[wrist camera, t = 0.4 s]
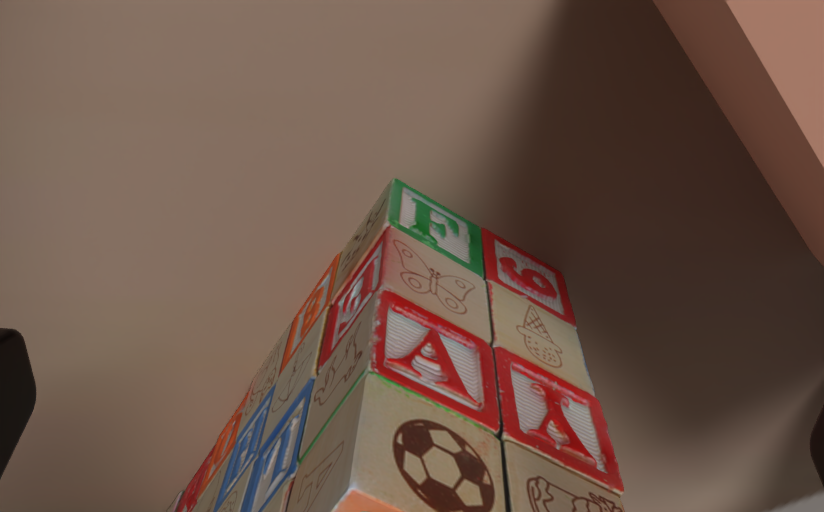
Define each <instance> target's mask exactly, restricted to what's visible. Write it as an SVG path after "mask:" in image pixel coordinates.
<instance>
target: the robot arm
mask: <svg viewBox="0 0 824 512" xmlns="http://www.w3.org/2000/svg"><path fill="white" fill-rule="evenodd" d="M35 401H36V384H35V380H34V376H33V372H32V368H31V364H30V360H29V357H28V353H27V349H26V345H25V341H24V339H23V336H22V335H21V333H19V332H18V331H17V330H15V329H7V328H0V479H1V477H2V475H3V472H4V470H5V468H6V466H7V464H8V462H9V460H10V458H11V456H12V454H13V452H14V450H15V447H16V445H17V443H18V441H19V439H20V437H21V435H22V433H23V431H24V429H25V427H26V424H27V422H28V420H29V418H30V416H31V414H32V412H33V409H34V405H35ZM810 451H811V456H812V459H813V462H814V465H815V467H816V469H817V472H818V474H819V477H820V479H821V482H822V484H823V487H824V405H823V407H822V410H821V412H820V414H819V416H818V419H817V421H816V423H815V425H814V427H813V430H812V433H811V437H810Z"/></svg>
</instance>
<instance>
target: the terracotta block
mask: <svg viewBox="0 0 824 512" xmlns="http://www.w3.org/2000/svg"><path fill="white" fill-rule="evenodd" d="M653 2H654V4H655V5H656V7H657V8H658V10H659V11H660V13H661V15H662V16H663V18H664V19H665V21H666V23H667V24H668V26H669V27H670V29H671V31H672V32H673V34H674V35H675V37H676V38H677V40H678V42H679V43H680V45H681V46H682V48H683V50H684V51H685V53H686V54H687V56H688V57H689V59H690V61H691V62H692V64H693V65H694V67H695V69H696V70H697V72H698V73H699V75H700V76H701V78H702V80H703V81H704V83H705V84H706V86H707V88H708V89H709V91H710V92H711V94H712V96H713V97H714V99H715V100H716V102H717V103H718V105H719V107H720V108H721V110H722V111H723V113H724V115H725V116H726V118H727V119H728V121H729V122H730V124H731V126H732V127H733V129H734V130H735V132H736V134H737V135H738V137H739V138H740V140H741V141H742V143H743V145H744V146H745V148H746V149H747V151H748V153H749V154H750V156H751V157H752V159H753V160H754V162H755V164H756V165H757V167H758V168H759V170H760V172H761V173H762V175H763V176H764V178H765V180H766V181H767V183H768V184H769V186H770V187H771V189H772V191H773V192H774V194H775V195H776V197H777V199H778V200H779V202H780V203H781V205H782V206H783V208H784V210H785V211H786V213H787V214H788V216H789V218H790V219H791V221H792V222H793V224H794V225H795V227H796V229H797V230H798V232H799V233H800V235H801V237H802V238H803V240H804V241H805V243H806V245H807V246H808V248H809V249H810V251H811V252H812V254H813V255H814V256H815V257H816V258H817V260H818V261H819V262H820V263H821V264H822V266H823V267H824V0H653Z"/></svg>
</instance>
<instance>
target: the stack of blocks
mask: <svg viewBox="0 0 824 512" xmlns="http://www.w3.org/2000/svg"><path fill="white" fill-rule="evenodd" d="M576 329H577V326H576V321H575V317H574V313H573V310H572V306H571V303H570V300H569V297H568V292H567V288H566V284H565V280H564V277H563V275H562V273H561V272H559V271H558V270H556V269H554V268H552V267H551V266H549V265H547V264H545V263H544V262H542V261H540V260H539V259H537V258H535V257H533V256H532V255H530V254H528V253H526V252H525V251H523V250H521V249H520V248H518V247H516V246H514V245H512V244H511V243H509V242H507V241H505V240H504V239H502V238H500V237H499V236H497V235H495V234H493V233H491V232H490V231H488V230H487V229H484V228H480V227H478V226H476V225H475V224H473V223H471V222H469V221H468V220H466V219H464V218H463V217H461V216H459V215H457V214H456V213H454V212H452V211H451V210H449V209H447V208H445V207H444V206H442V205H440V204H439V203H437V202H435V201H434V200H432V199H430V198H428V197H427V196H425V195H423V194H421V193H420V192H418V191H416V190H415V189H413V188H411V187H409V186H408V185H406V184H405V183H403V182H401V181H400V180H398V179H395V178H393V179H392V180H391V181H390V182H389V184H388V185H387V187H386V188H385V190H384V191H383V193H382V194H381V196H380V197H379V198H378V200H377V201H376V203H375V204H374V206H373V207H372V209H371V210H370V212H369V213H368V215H367V216H366V218H365V219H364V221H363V222H362V223H361V225H360V226H359V228H358V229H357V231H356V232H355V234H354V235H353V237H352V238H351V240H350V241H349V243H348V244H347V245H346V247H345V248H344V250H343V251H342V252H340V253H339V254H338V255H337V256H336V257H335V258H334V260H333V261H332V263H331V265H330V266H329V268H328V269H327V270H326V272H325V273H324V275H323V276H322V278H321V279H320V281H319V282H318V284H317V285H316V287H315V288H314V290H313V291H312V293H311V294H310V296H309V297H308V299H307V300H306V302H305V303H304V305H303V306H302V308H301V309H300V311H299V312H298V314H297V315H296V317H295V319H294V321H293V322H292V323H291V324H290V325H289V327H288V328H287V330H286V331H285V333H284V334H283V335H282V337H281V338H280V340H279V341H278V342H277V344H276V346H275V347H274V349H273V350H272V352H271V353H270V355H269V356H268V358H267V359H266V361H265V362H264V364H263V365H262V367H261V368H260V370H259V371H258V373H257V374H256V376H255V377H254V379H253V382H252V385H251V388H250V391H249V392H248V393H247V395H246V397H245V398H244V400H243V401H242V403H241V405H240V407H239V408H238V409H237V410H236V412H235V413H234V415H233V416H232V418H231V419H230V421H229V422H228V424H227V425H226V427H225V428H224V430H223V431H222V433H221V434H220V436H219V438H218V441H217V444H216V445H215V446H214V448H213V449H212V451H211V452H210V453H209V455H208V456H207V458H206V459H205V461H204V462H203V464H202V465H201V467H200V469H199V470H198V472H197V473H196V474H195V476H194V478H193V479H192V481H191V482H190V483H189V485H188V487H187V489H186V490H185V491H182V492H180V493H179V494H178V496H177V497H176V499H175V500H174V502H173V503H172V505H171V506H170V508H169V509H168V511H167V512H625V511H624V508H623V506H622V503H621V501H620V499H619V498H620V497H621V495H622V494H623V492H624V487H623V482H622V479H621V476H620V473H619V467H618V463H617V460H616V457H615V455H614V450H613V445H612V442H611V439H610V436H609V433H608V427H607V423H606V421H605V419H604V416H603V412H602V408H601V405H600V402H599V401H598V400H597V399H596V398H595V391H594V388H593V385H592V382H591V379H590V376H589V373H588V369H587V366H586V362H585V358H584V355H583V351H582V347H581V343H580V340H579V337H578V334H577V332H576Z"/></svg>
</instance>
